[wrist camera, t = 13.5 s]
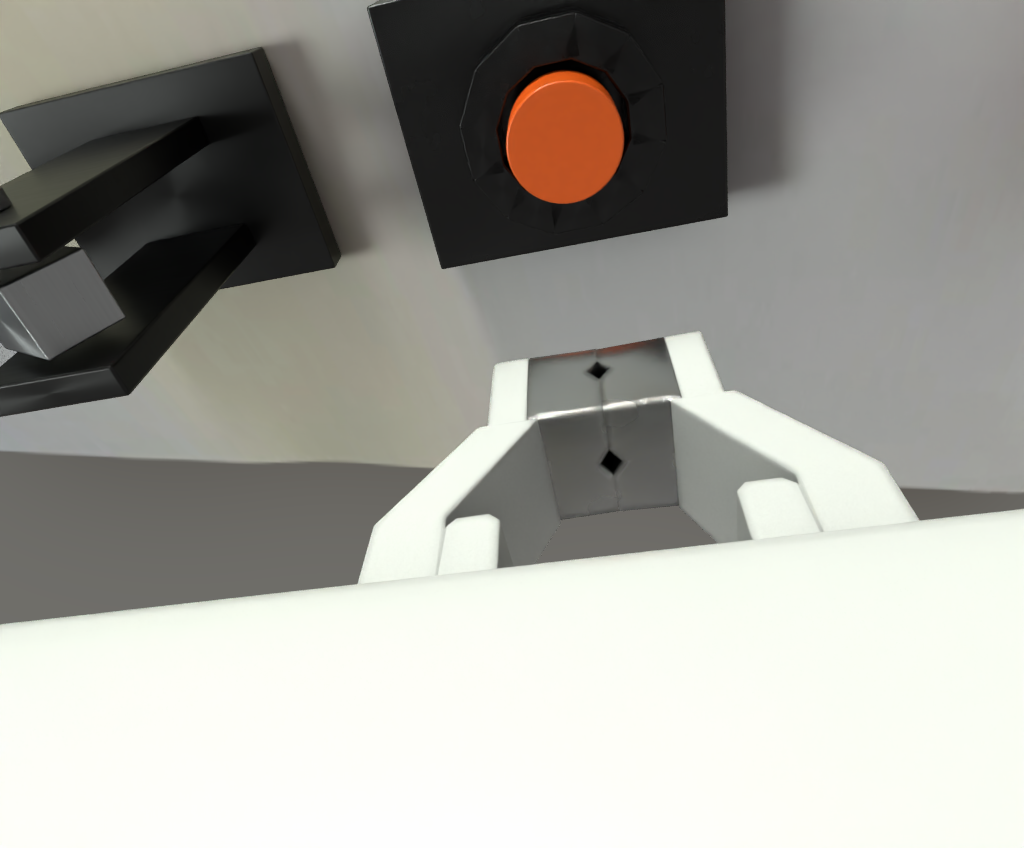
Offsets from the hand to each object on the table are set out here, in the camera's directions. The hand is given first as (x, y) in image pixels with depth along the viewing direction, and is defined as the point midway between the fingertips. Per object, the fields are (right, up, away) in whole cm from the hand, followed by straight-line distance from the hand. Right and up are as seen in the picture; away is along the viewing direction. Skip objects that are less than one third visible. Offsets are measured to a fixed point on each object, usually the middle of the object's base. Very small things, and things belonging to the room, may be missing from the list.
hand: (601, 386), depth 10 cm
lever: (-18, +5, +13) cm, 22 cm away
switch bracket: (-14, +9, +17) cm, 24 cm away
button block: (0, +11, +15) cm, 18 cm away
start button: (0, +9, +12) cm, 15 cm away
